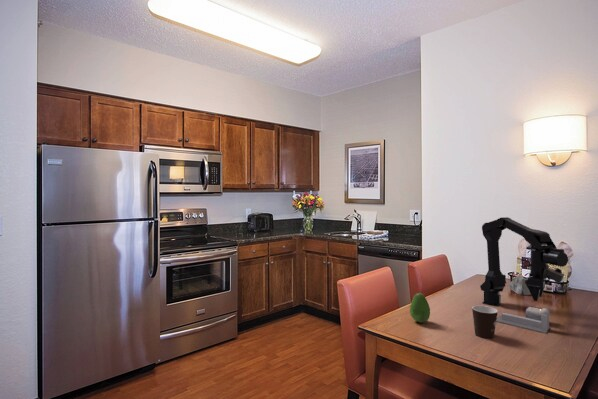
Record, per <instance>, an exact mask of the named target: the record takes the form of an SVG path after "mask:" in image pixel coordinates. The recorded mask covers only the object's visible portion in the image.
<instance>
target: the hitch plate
mask: <svg viewBox="0 0 598 399" xmlns="http://www.w3.org/2000/svg"><path fill="white" fill-rule="evenodd" d="M541 309H542V310H541V313H542V314H541V321H539V320H534V319H529V318H526V316H525V317H524V316H520V315H515V314H510V313H506V312H502V313H501V315H499V316H497V320H496V323H499V324H505V325H509V326H513V327H517V328H520V327H521V328H520V329H524V330H530V331H533V332H538V333H542V334H547V333H548V331H549V330H550V327H551V326H550V310H549V309H548V308H546V307H543V308H541Z"/></svg>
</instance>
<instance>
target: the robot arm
mask: <svg viewBox="0 0 598 399" xmlns="http://www.w3.org/2000/svg"><path fill="white" fill-rule="evenodd" d="M506 229H507V230H508V231H511V232H513V233H515V234H517V235H519V236H521V237H522V238H523V239H524V240H525V241H526V242H527V243H528V244H529V245H528V246H526V247H525V249H526V250H529V251H530V263H529V265H528V266H529V267H530V269H529V274H528V276H527V277H526V278H524V279H525V284H526V286H527V287H528V289H529V291H530V293H531V294H530V295H531V297H532V300H533V301H534V302H538V301H539V300H538V299H539V297H542V296H543V294H544V289H545V286H546V285H547V284H548V283H549V282H550V281H551V280H552V281H554V282H556V283H558V284H561V282H562V281H563V279H564V277H565V274H564V273H563V270H562V269H561V268H556V269H552V268H549V267H550V265H553V266H558V267H562V268H563V267H566V266H567V265H568V262H569V257H568V255H567V253H566V252H565V249H564V248H558V247H557V246H556V244H555V243H554V242H553V240H552V238H551V236H550V235H551V234H550V233H548V232H547V231H544V230H543V231H542V230H541V229H540V230H539V229H533V228H531V227H528V226H526V225H524V224H522V223H520V222H518V221H516V220H513V219H512V218H511V217H507V216H506V217H499V218H497V219H495V220H492V221H489V222H484V223H483V224H482V226H481V231H482V236H483V237H484V239H485V240H486V247H487V249H486V250H487V264H488V267H487V268H488V271H487V272H486V273H485V277H484V282H482V283H481V284H480V285H479V286H480V291H483V301H482V302H481V303H482V304H484V305H489V306H494V307H498V306H499V305H501V303H502V298H501V297H502V295H501V292H503V291H504V288H505V287H506V284H507V281H506V280H507V279H506V278H507V275H506V274H503V273H502V271H501V263H500V262H501V260H500V247H499V244H500V243H499V241H500V239H501V237H502V236H503V235H502V234H503V231H504V230H506Z"/></svg>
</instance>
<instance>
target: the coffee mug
mask: <svg viewBox="0 0 598 399" xmlns="http://www.w3.org/2000/svg"><path fill="white" fill-rule="evenodd" d="M471 310H472V319H473V326H474V327H473V328H474V335H475V336H477V337H478V338H481V339H486V340H489V339H490V340H492V339H494V338H495V334H496V333H495V332H496V325H497V322H496V320H497V318H498V313H499V312H498V311H499V310H498V309H497V308H495V307H491V306H486V305H473V306H472V307H471Z"/></svg>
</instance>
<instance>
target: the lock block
mask: <svg viewBox="0 0 598 399" xmlns="http://www.w3.org/2000/svg"><path fill="white" fill-rule="evenodd" d="M542 309H543V308H537V307H533V306H528V307H527V308H526V309H525V318H529V319H534V320H539V321H541V314H542V313H541V310H542Z"/></svg>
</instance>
